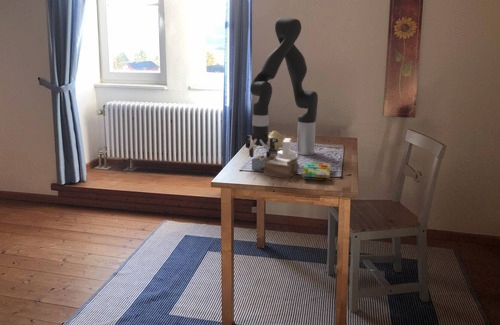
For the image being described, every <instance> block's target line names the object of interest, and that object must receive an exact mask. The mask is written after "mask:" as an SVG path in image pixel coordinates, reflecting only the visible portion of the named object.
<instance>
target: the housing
mask: <svg viewBox="0 0 500 325" xmlns="http://www.w3.org/2000/svg"><path fill="white" fill-rule="evenodd" d="M265 158H266V156H265V155H264V154H260V155H258V156H256V157H254V158H252V159H251V170H252V169H254V170H255V171H259V170H261V171H262V170H264V163H265Z"/></svg>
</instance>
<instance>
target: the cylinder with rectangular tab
mask: <svg viewBox="0 0 500 325" xmlns="http://www.w3.org/2000/svg"><path fill="white" fill-rule="evenodd" d="M276 154H277V156H276V158H282V159H289V160H291V159H293V158H295V157H297V156H296V154H297V151H295V150H292V138H291V137H290V138H289V137H288V138H287V137H285V138H283V143H282V150H278V151H276Z"/></svg>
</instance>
